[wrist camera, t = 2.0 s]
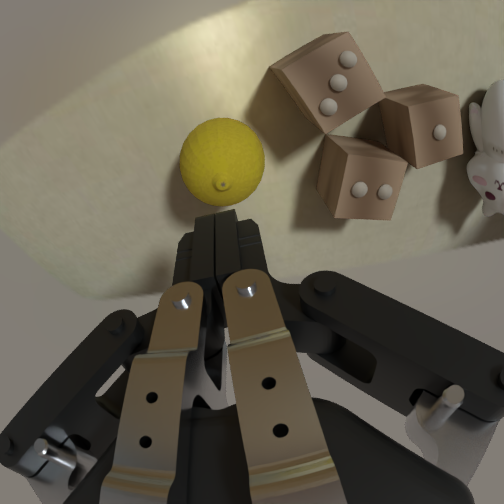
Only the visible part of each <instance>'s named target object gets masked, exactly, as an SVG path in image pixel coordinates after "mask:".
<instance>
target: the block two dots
mask: <svg viewBox="0 0 504 504" xmlns="http://www.w3.org/2000/svg"><path fill="white" fill-rule="evenodd" d="M407 164H408V163H407V162H406V161H405V160H403V159H402V158H401V157H399V156H398V155H397V154H395V153H394V152H393V151H391V150H390V149H388V148H387V147H386V146H384V145H383V144H381V143H380V142H378V141H372V140H366V139H359V138H352V137H345V136H338V135H329V134H325V141H324V147H323V153H322V159H321V165H320V171H319V176H318V182H317V187H316V189H317V191H318V192H319V194H320V196H321V197H322V199H323V200H324V202H325V204H326V205H327V207H328V208H329V210H330V212H331V213H332V215H333V217H334V218H347V219H371V220H391V217H392V214H393V211H394V208H395V205H396V202H397V199H398V195H399V192H400V189H401V185H402V182H403V179H404V175H405V171H406V168H407Z"/></svg>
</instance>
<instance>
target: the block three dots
mask: <svg viewBox="0 0 504 504" xmlns="http://www.w3.org/2000/svg"><path fill="white" fill-rule="evenodd" d="M269 67H270V69H271V70H272V71H273V73H274V74H275V75H276V77H277V78H278V79H279V81H280V82H281V83H282V85H283V86H284V88H285V89H286V90H287V92H288V93H289V94H290V96H291V97H292V99H293V100H294V101H295V103H296V104H297V106H298V107H299V109H300V110H301V112H302V113H303V115H304V116H305V117H306V118H307V119H308V120H309V121H310V122H312V123H313V124H314V125H315V126H316V127H318V128H319V129H320V130H321V131H322V132H324V133H325V134H327V133H328V132H330V131H332V130H333V129H335V128H336V127H338V126H339V125H341V124H343V123H344V122H346V121H348V120H349V119H351V118H352V117H354V116H356V115H357V114H359V113H361V112H362V111H364V110H365V109H367V108H369V107H370V106H372V105H374V104H375V103H377V102H379V101H381V100H382V99H384V98H386V96H385V94H384V92H383V90H382V88H381V86H380V84H379V83H378V81H377V79H376V77H375V75H374V73H373V71H372V70H371V68H370V66H369V64H368V62H367V61H366V59H365V57H364V56H363V54H362V52H361V50H360V49H359V47H358V46H357V44H356V42H355V41H354V39H353V37H352V36H351V34H350V33H349V32H341V33H333V34H325V35H322V36H320V37H318V38H316V39H314V40H313V41H311V42H309V43H307V44H306V45H304V46H302V47H300V48H299V49H297V50H295V51H294V52H292V53H290V54H289V55H287V56H285V57H284V58H282V59H280V60H279V61H277V62H276V63H274V64H273V65H271V66H269Z"/></svg>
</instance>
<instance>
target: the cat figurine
mask: <svg viewBox="0 0 504 504" xmlns="http://www.w3.org/2000/svg"><path fill="white" fill-rule="evenodd" d="M469 125H470V130H471V134H472V138H473V141H474V143H475V145H476V148H477V151H476V152H475V156H474V157H473V158H472V159H471V160H470V161H469V162H468V164H467V174H468V178H469V181H470V182H471V184H472V185H473V186H474V188H475V189H476V190H477V191H478V192H479V194H480V195H481V197H482V199H483V206H482V212H483V214H484V215H485V216H487V217H490V216H492V215H494V214H495V213H498V212H499V213H501V214H503V215H504V80H499V81H496V82H495V83H493V84H492V85H491V86H490V87H489V89H488V90H487V92H486V94H485V97H484V100H483V103H482V108H481V107H480V106H479V105H478V104H477V103H475V102H472V103H470V105H469Z"/></svg>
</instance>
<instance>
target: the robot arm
mask: <svg viewBox="0 0 504 504" xmlns="http://www.w3.org/2000/svg"><path fill="white" fill-rule="evenodd" d="M227 327H228V332H229V338H230V344H229V345H228V347H227V345H226V342H225V336H224V335H225V334H224V328H227ZM227 349H228V357H229V364H230V370H231V376H232V382H233V388H234V393H235V399H236V404H234V405H231V406H229V407H228V403H227V400H226V365H227ZM296 352H302V353H307V355H308V356H309V357H310V358H311V359H312V360H314V361H315V362H317V363H319V364H320V365H322V366H323V367H325V368H327V369H328V370H330V371H331V372H333V373H335V374H336V375H337V376H339V377H341V378H342V379H344V380H345V381H347V382H349V383H350V384H352V385H354V386H355V387H357V388H358V389H360V390H362V391H364V392H365V393H367V394H368V395H370V396H372V397H373V398H375V399H377V400H378V401H380V402H382V403H384V404H385V405H387V406H389V407H391V408H392V409H394V410H396V411H397V412H399V413H401V414H403V415H404V416H406V417H407V418H406V422H405V429H406V433H407V436H408V437H409V439H410V440H411V441H412V442H413V443H414V444H416V445H417V446H418V447H419V448H420V449H421V451H422V453H423V456H424V459H423V458H422V457H420V456H418V455H417V454H415V453H414V452H412V451H410V450H409V449H407V448H405V447H404V446H402V445H401V444H399V443H397V442H396V441H394V440H393V439H391V438H390V437H388V436H386V435H385V434H383V433H382V432H380V431H379V430H377V429H376V428H374V427H373V426H371V425H370V424H368V423H367V422H365V421H364V420H362V419H360V418H359V417H358V416H356V415H355V414H354V413H352V412H351V411H349V410H348V409H346V408H344V407H342V406H340V405H338V404H336V403H333V402H331V401H328V400H324V399H320V398H312V397H311V395H310V392H309V389H308V386H307V383H306V380H305V377H304V374H303V371H302V368H301V365H300V362H299V359H298V356H297V353H296ZM120 365H122V366H123V367H124V368H125V371H124V372H123V373H122V374H121V375H120V377H119V378H118V379H117V380H116V381H115V382H114V383H113V384H112V385H111V387H110V388H109V389H108V390H107V391H106V392H105V393H104V394H103V395H102V396H100V397H95V395H96V393H97V391H98V390H99V389H100V388H101V387H102V385H103V384H104V383H105V382H106V381H107V380H108V379H109V378H110V376H111V375H112V374H113V373H114V372H115V371H116V370H117V369H118V368H119V367H120ZM502 417H504V353H503V352H500V351H499V350H496V349H495V348H493V347H491V346H489V345H487V344H485V343H482V342H481V341H479V340H477V339H475V338H473V337H470V336H469V335H467V334H465V333H462V332H461V331H459V330H456V329H454V328H452V327H450V326H448V325H446V324H444V323H442V322H440V321H438V320H436V319H434V318H432V317H430V316H428V315H426V314H424V313H422V312H419V311H417V310H415V309H413V308H411V307H409V306H407V305H405V304H402V303H400V302H398V301H397V300H394V299H392V298H390V297H388V296H386V295H384V294H382V293H380V292H378V291H376V290H373V289H371V288H369V287H367V286H365V285H363V284H361V283H359V282H356V281H354V280H352V279H350V278H348V277H346V276H344V275H341V274H339V273H337V272H333V271H318V272H315V273H312V274H310V275H308V276H307V277H306V278H304V280H303V281H302V282H301V284H287V283H282V282H279V281H277V280H275V279H274V278H273V277H272V276H271V275H270V274H269V272H268V269H267V264H266V259H265V255H264V250H263V245H262V241H261V236H260V232H259V227H258V225H257V224H256V223H255V222H254V221H253V220H252V219H247V220H243V221H238V219H237V215H236V212H235V209H232V210H228V211H223V212H219V213H216V215H215V214H210V215H206V216H202V217H197V218H196V219H195V227H194V232H190V233H185V234H184V236H183V237H182V239H181V240H180V241H179V243H178V249H177V256H176V262H175V269H174V276H173V283H172V287H170V288H169V289H167V290H166V291H165V292H164V293H163V295H162V296H161V298H160V302H159V305H158V308H157V309H155V310H153V311H152V312H149V313H147V314H145V315H142V316H140V317H138V318H137V317H136V315H135V314H134V313H133V312H132V311H130V310H125V309H123V310H118V311H115V312H113V313H111V314H110V315H108V316H107V317H106V318H105V319H104V320H103V321H102V322H101V323H100V324H99V325H98V326H97V327H96V328H95V329H94V330H93V331H92V332H91V333H90V334H89V335H88V336H87V337H86V338H85V339H84V340H83V342H81V343H80V344H79V346H78V347H77V348H76V349H75V350H74V351H73V352H72V353H71V354H70V355H69V356H68V357H67V358H66V359H65V360H64V361H63V363H62V364H61V365H60V366H59V367H58V368H57V369H56V370H55V371H54V372H53V373H52V375H51V376H50V377H49V378H48V379H47V380H46V381H45V382H44V383H43V385H42V386H41V387H40V388H39V389H38V390H37V391H36V392H35V394H34V395H33V396H32V397H31V398H30V399H29V400H28V402H27V403H26V404H25V405H24V406H23V408H22V409H21V410H20V411H19V412H18V413H17V414H16V416H15V417H14V418H13V419H12V420H11V422H10V423H9V424H8V425H7V427H6V428H5V429H4V430H3V431H2V433H1V434H0V463H1V464H2V465H3V466H5V467H7V468H9V469H11V470H13V471H15V472H17V473H19V474H21V475H22V476H24V477H25V478H26V479H27V480H28V482H29V483H30V485H31V487H32V488H33V490H34V492H35V493H36V495H37V496H38V497H39V499H40V501H41V502H42V504H475V503H474V498H473V496H472V494H471V492H470V490H469V488H468V487H467V485H468V484H469V482H470V480H471V478H472V477H473V475H474V473H475V471H476V469H477V467H478V466H479V464H480V462H481V460H482V458H483V456H484V454H485V452H486V449H487V447H488V445H489V443H490V441H491V439H492V436H493V434H494V432H495V429H496V427H497V425H498V422H499V421H500V419H501V418H502Z"/></svg>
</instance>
